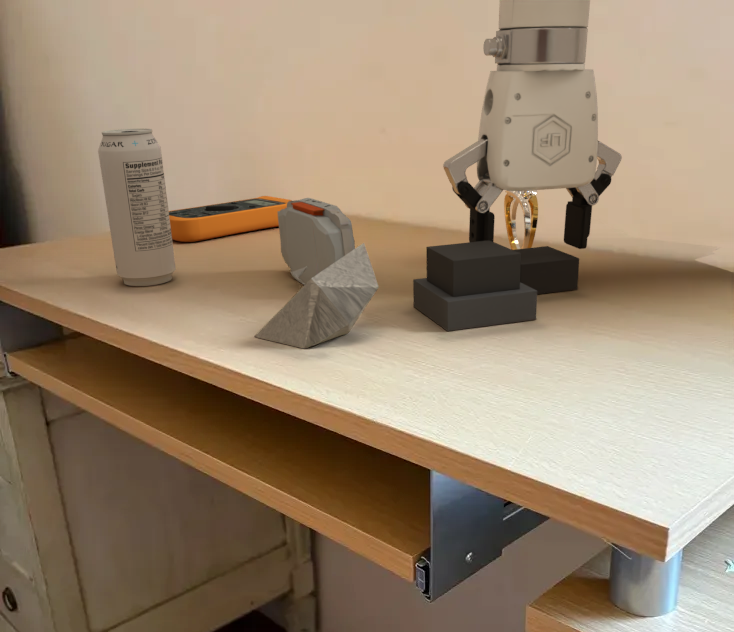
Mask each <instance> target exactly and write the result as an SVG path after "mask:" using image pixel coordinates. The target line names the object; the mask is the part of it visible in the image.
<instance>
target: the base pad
mask: <svg viewBox="0 0 734 632" xmlns="http://www.w3.org/2000/svg"><path fill="white" fill-rule="evenodd" d="M412 287H413V288H412V291H413V294H412V297H413V308H415V309H416V310H418V312H420V313H421V314H423V315H425V316H426V317H427V318H428V319H430V320H431V321H433V322H435V324H437V325H438V326H440V327H441V328H443V329H444V330H445V331H447V332H453V331H461V330H467V329H473V328H482V327H488V326H489V327H490V326H497V325H504V324H511V323H512V324H513V323H519V322H527V321H534V320H537V309H538V294H537V290H535V289H533V288H531V287H529V286H527V285H525V284H523V283H521V282H520V289H515V290H507V291H499V292H491V293H482V294H474V295H466V296H458V297H452V296H451V295H449V294H448V293H446V292H444V291H443V290H441V289H440V288H438V287H436V286H435V285H433V284H431V283H430V282H428V281H427V277H422V278H413V280H412Z"/></svg>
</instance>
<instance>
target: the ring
mask: <svg viewBox="0 0 734 632" xmlns="http://www.w3.org/2000/svg"><path fill="white" fill-rule="evenodd" d="M504 191H505V193H506V194H505V195H504V199H503V211H504V212H503V213H504V222H505V227H506V228H505V229H506V235H507V238H508V243H509V247H510V249H511V250H516V249H525V248H533V244H534V240H535V237H536V231H537V227H538V218H539V201H538V197H537V194H538V190H529V191H507V190H504ZM528 204H529V205H528ZM519 205H520V208H521V210H522V214H523V221H524V234H523V240H522V245H521V247H520V244H519V239H518V235H517V223H516V222H517V220H516V219H517V211H518V207H519Z"/></svg>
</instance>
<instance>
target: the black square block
mask: <svg viewBox="0 0 734 632" xmlns="http://www.w3.org/2000/svg"><path fill="white" fill-rule="evenodd" d="M425 248H426V252H425V253H426V278H427V281H428V282H430V283H431V284H433V285H435V286H436V287H438V288H440V289H441V290H443V291H444V292H446V293H448V294H449V295H451V296H452V297H458V296H466V295H474V294H482V293H491V292H499V291H507V290H515V289H520V267H521V253H519V252H516V251H514V250H511V248H509V247H507V246H504V245H503V244H500V243H497V242H495V241H493V242H492V241H490V240H488V241H478V242H469V241H468V242H461V243H450V244H441V245H430V246H426V247H425Z"/></svg>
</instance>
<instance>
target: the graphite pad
mask: <svg viewBox="0 0 734 632" xmlns="http://www.w3.org/2000/svg"><path fill="white" fill-rule="evenodd" d="M514 251H516V252H519V253H521V267H520V282H521V283H523V284H525V285H527V286H529V287H531V288H533V289H535V290H537V295H543V294H552V293H553V294H554V293H560V292H561V293H562V292H568V291H577V290H578V285H579V270H580V268H579V267H580V258H579V257H577V256H575V255H572V254H569V253H568V252H564V251H561V250H560V249H557V248H554V247H551V246H549V245H543V246H535V247H531V248H525V249H521V248H520V249H516V250H514Z"/></svg>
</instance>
